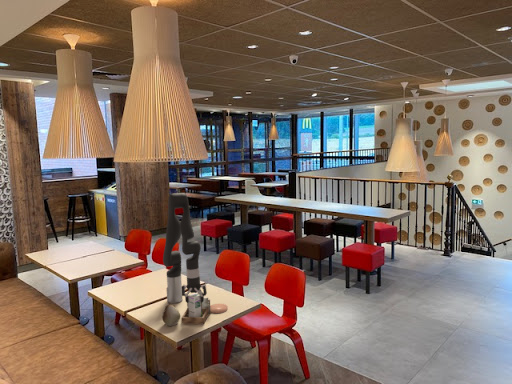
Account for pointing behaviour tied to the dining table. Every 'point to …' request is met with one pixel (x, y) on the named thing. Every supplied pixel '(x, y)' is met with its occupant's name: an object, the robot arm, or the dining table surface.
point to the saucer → (218, 308)
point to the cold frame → (197, 320)
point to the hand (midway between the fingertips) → (194, 302)
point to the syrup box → (195, 305)
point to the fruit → (170, 315)
